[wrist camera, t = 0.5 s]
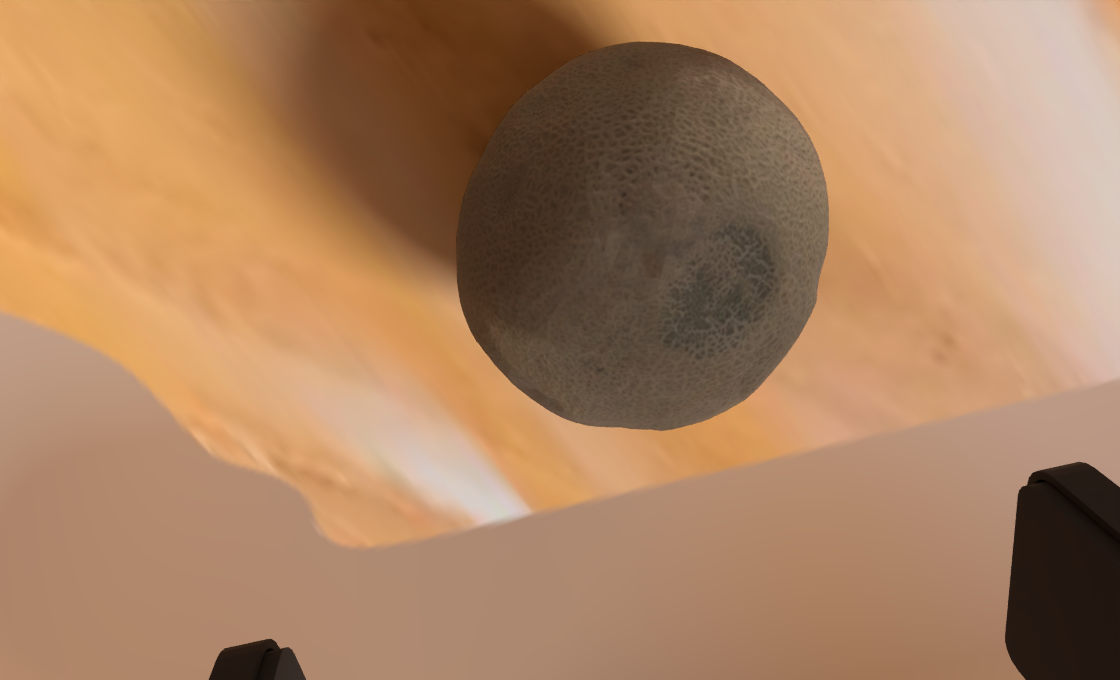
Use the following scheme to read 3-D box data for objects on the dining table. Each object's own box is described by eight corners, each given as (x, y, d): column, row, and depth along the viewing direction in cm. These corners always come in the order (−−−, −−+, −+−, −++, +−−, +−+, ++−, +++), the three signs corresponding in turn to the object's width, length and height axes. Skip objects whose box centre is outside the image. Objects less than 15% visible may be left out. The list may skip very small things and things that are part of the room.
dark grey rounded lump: (796, 229, 38) (975, 362, 25) (561, 381, 40) (607, 579, 27) (654, -33, 33) (784, -48, 19) (389, 158, 35) (337, 267, 21)
